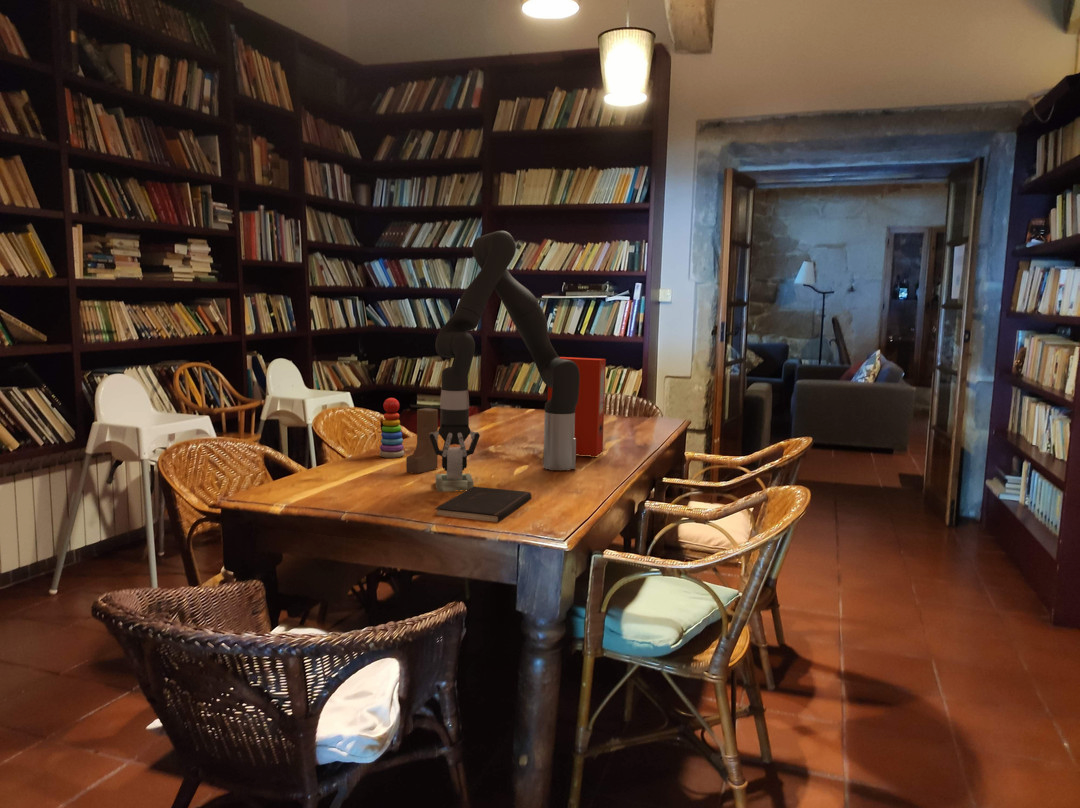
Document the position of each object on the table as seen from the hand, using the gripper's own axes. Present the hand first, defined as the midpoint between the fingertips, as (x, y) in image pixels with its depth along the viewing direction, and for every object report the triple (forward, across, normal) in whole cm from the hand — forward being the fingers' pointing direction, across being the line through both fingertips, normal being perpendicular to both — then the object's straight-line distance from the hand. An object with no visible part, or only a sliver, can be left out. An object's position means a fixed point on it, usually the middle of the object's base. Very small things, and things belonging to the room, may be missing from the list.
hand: (454, 469), depth 205 cm
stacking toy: (+5, +17, -43) cm, 46 cm away
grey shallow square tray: (+5, 0, 0) cm, 5 cm away
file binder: (+5, -43, -43) cm, 61 cm away
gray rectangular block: (+3, 0, 0) cm, 3 cm away
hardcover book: (+6, -6, +21) cm, 22 cm away
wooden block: (+5, +8, -21) cm, 23 cm away
